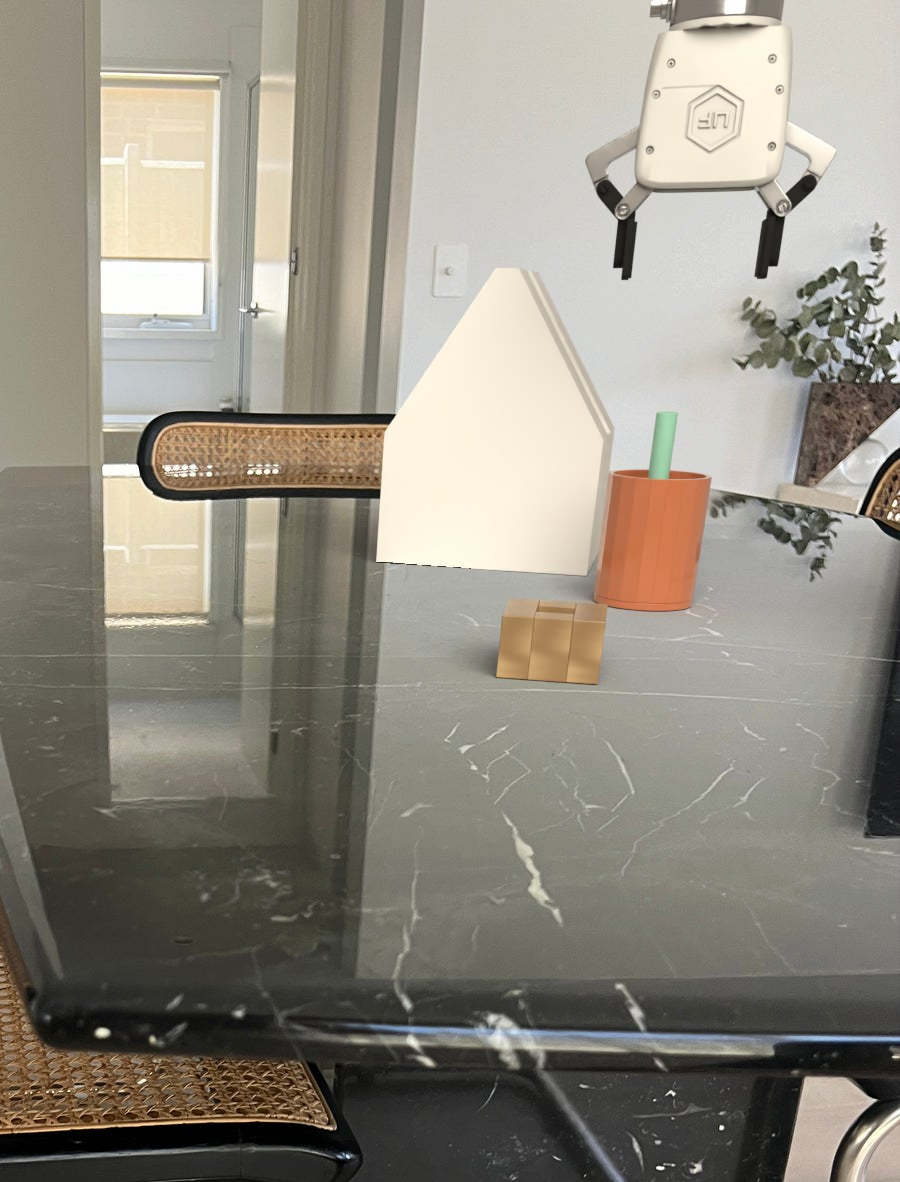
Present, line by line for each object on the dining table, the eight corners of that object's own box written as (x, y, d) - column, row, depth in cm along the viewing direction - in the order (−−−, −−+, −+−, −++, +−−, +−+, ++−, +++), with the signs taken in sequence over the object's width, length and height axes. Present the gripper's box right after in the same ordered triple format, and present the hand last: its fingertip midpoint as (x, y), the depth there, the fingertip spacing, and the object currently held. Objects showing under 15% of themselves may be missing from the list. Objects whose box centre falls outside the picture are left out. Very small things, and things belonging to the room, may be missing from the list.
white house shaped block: (376, 562, 137) (395, 267, 127) (406, 540, 150) (426, 271, 140) (586, 575, 131) (624, 268, 121) (599, 551, 145) (634, 272, 135)
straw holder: (599, 663, 99) (607, 603, 97) (597, 684, 93) (605, 621, 92) (503, 657, 100) (509, 598, 99) (495, 677, 95) (502, 615, 93)
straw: (652, 593, 120) (677, 412, 114) (652, 596, 119) (678, 413, 113) (632, 592, 121) (656, 411, 115) (631, 595, 119) (656, 412, 113)
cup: (690, 596, 122) (709, 471, 118) (693, 613, 116) (713, 481, 111) (594, 591, 124) (609, 467, 120) (591, 607, 117) (608, 477, 113)
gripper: (598, 7, 102) (572, 278, 109) (866, -8, 97) (821, 276, 104) (600, 27, 108) (575, 281, 115) (851, 14, 104) (810, 279, 111)
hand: (692, 278), depth 110 cm, fingers open, 9 cm apart
